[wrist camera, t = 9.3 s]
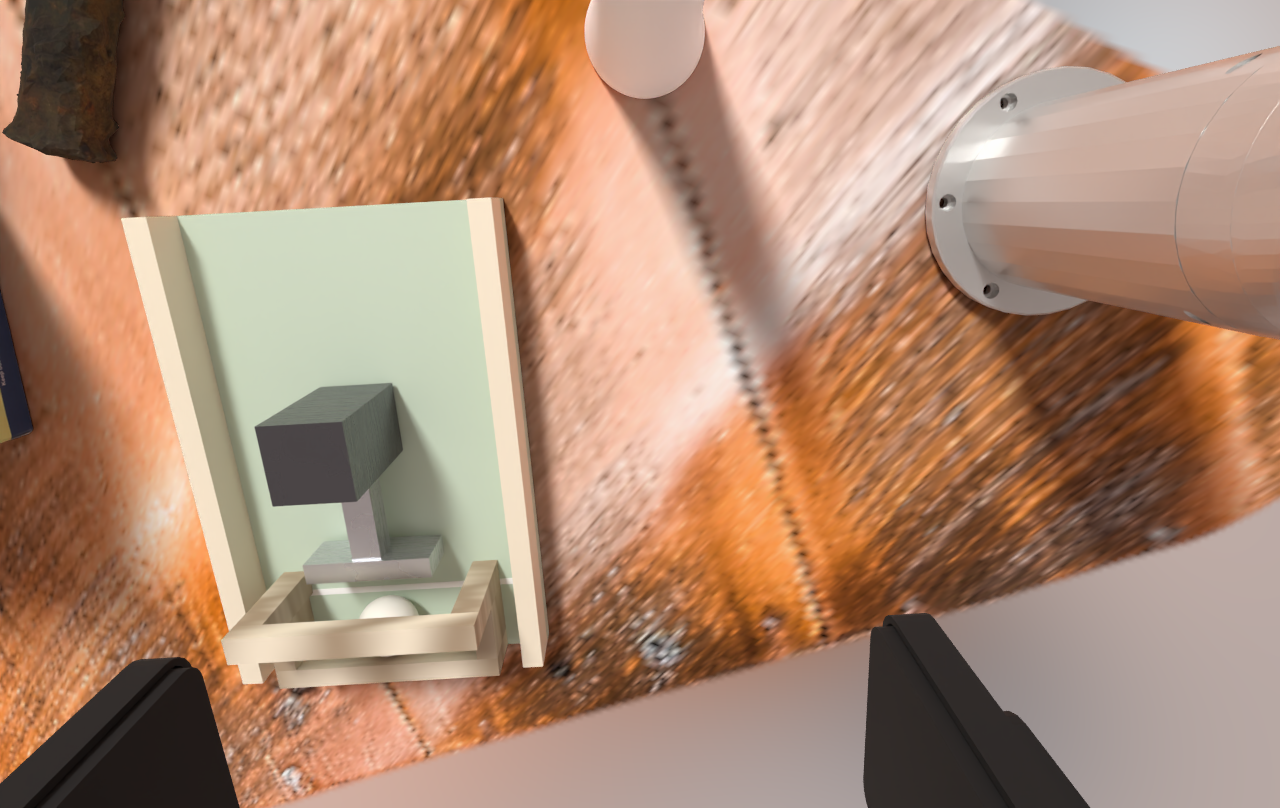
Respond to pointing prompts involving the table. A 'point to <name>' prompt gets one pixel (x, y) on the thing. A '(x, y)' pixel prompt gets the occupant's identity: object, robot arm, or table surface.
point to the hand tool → (68, 78)
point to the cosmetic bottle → (645, 43)
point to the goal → (373, 637)
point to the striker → (344, 480)
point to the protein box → (11, 388)
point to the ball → (389, 608)
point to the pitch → (350, 355)
